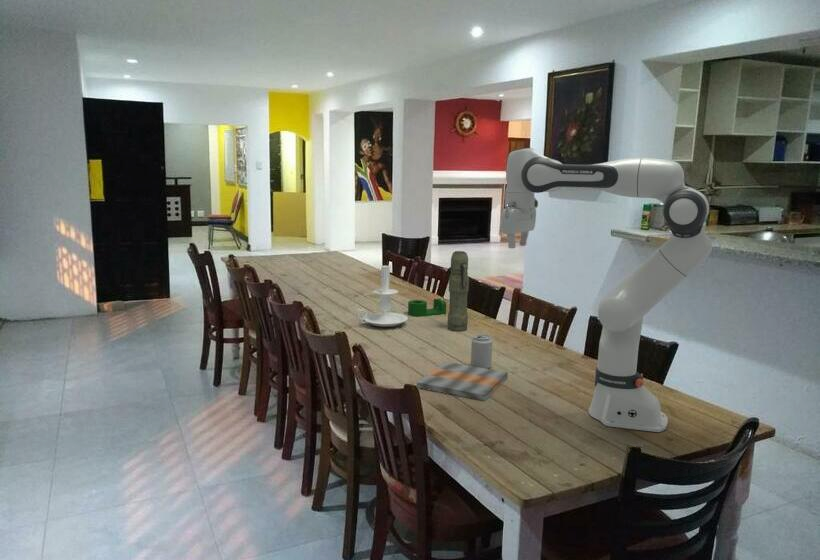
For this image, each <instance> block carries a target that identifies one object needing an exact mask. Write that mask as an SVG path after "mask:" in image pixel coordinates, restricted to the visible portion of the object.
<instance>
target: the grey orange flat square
mask: <svg viewBox="0 0 820 560" xmlns="http://www.w3.org/2000/svg"><path fill="white" fill-rule="evenodd" d="M508 374H509V372H508V371H503V370H496V369H491V368H489V369H486V368H480V367H474V366H471V365H467V364H462V363H455V362H450V361H443V362H442V363H441V364H439V365H438V366H437V367H435V368H434V369H432V370H431V371H430V372H428V373H427V374H426V375H424V376H423V377H422V378H420V379H419V380H418V381H416V387H417V386H418V387H419V388H418V389H420V388H424V389H423V390H425V389H430V390H434V391H433V392H435V391H438V392H437V393H441V392H443V393H442V394H446V393H447V395H451V394H452V396H457V397H463V398H466V399H467V398H468V399H471V400H472V399H473V400H478V401H483V402H485V401H487V400H488V398H489V397H490V396H491V395H492V394H493V393H494V392H495V391H496V390H497V389H498V388H499V387H500V386H501V385H502V384H503V383H504V382H505V381H506V380H507V379H508V376H509V375H508ZM430 390H429V391H430Z"/></svg>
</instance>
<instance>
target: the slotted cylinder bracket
mask: <svg viewBox="0 0 820 560" xmlns="http://www.w3.org/2000/svg"><path fill="white" fill-rule="evenodd" d="M407 303H408V304H407V305H408V306H407V315H408V316H409V317H415V318H419V317H421V318H422V316H423V317H430V316H432V315H433V316H441V314H444V315H447V302H446V301H445V300H442V299H441V298H434V299H433V307H432V308H428V307H427V306H428V304H427V303H428V302H427V301H426V300H420V299H413V300H408V301H407ZM433 316H432V317H433Z"/></svg>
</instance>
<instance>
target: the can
mask: <svg viewBox="0 0 820 560" xmlns="http://www.w3.org/2000/svg"><path fill="white" fill-rule="evenodd" d="M492 354H493V340H492V338H491V335H488V334H486V333H485V334H484V333H479V334H475V335H473V338H472V339H471V353H470V366H474V367H480V368H486V369H491V368H492V361H493V360H492V359H493V355H492Z"/></svg>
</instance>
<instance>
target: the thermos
mask: <svg viewBox="0 0 820 560" xmlns="http://www.w3.org/2000/svg"><path fill="white" fill-rule="evenodd" d="M468 270H469V256H468V253H467V252H466V251H462V250H456V251H453V252H452V254H451V258H450V275H449V278H448V292H449V301H448V302H449V304H448V305H449V307H448V308H449V309H448V313H447V330H448V331H451V332H458V333H459V332H466V331H467V330H468V324H469V320H468V318H469V315H468V294H469V293H468V292H469V291H470V290H469V287H470V284H469V283H470V278H469V273H468Z"/></svg>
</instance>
